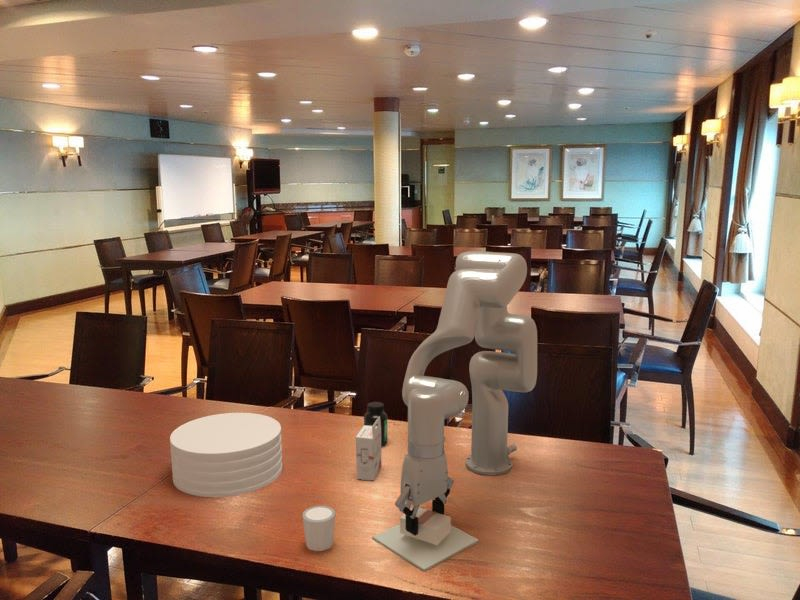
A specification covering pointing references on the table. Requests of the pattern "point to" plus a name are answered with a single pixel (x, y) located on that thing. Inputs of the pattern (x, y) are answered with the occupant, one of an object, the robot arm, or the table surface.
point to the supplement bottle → (372, 415)
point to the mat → (424, 546)
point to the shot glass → (319, 527)
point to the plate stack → (226, 454)
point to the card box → (428, 526)
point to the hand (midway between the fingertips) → (425, 525)
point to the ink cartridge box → (368, 451)
